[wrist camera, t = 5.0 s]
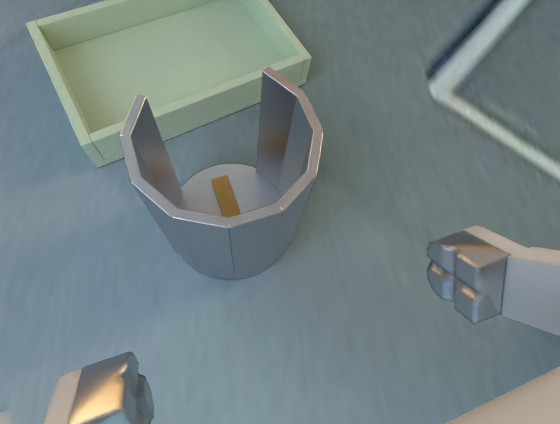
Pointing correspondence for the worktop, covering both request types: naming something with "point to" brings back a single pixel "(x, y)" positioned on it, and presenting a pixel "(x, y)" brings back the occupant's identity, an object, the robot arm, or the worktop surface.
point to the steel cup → (244, 181)
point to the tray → (162, 63)
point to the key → (225, 196)
